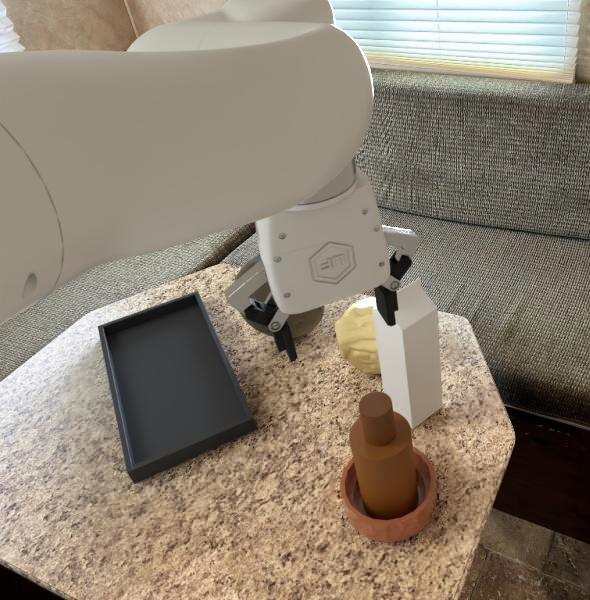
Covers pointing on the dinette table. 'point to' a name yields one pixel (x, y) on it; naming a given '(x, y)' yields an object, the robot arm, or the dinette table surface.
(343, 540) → the dinette table surface
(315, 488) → the dinette table surface
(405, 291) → the milk
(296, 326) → the dark grey rock
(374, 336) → the sculpture
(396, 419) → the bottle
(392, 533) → the bowl
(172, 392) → the tray
